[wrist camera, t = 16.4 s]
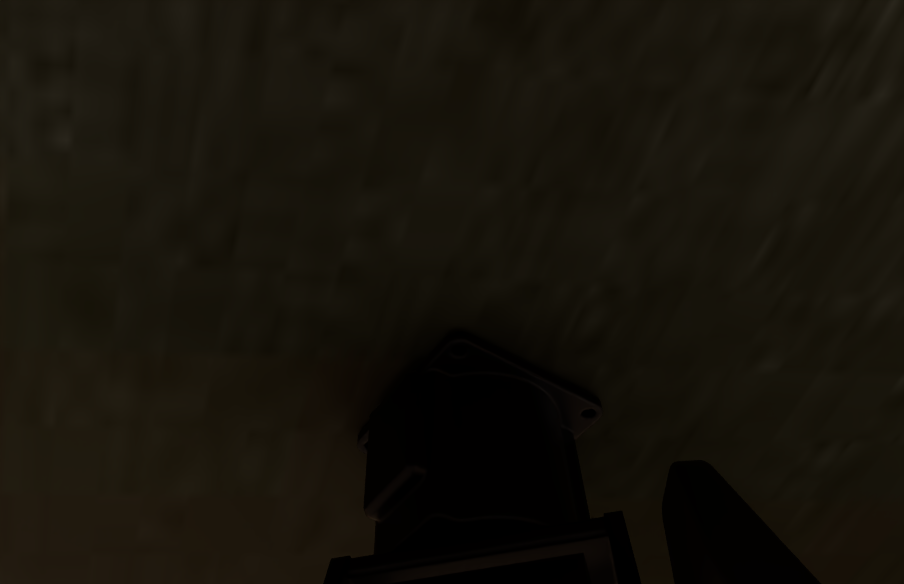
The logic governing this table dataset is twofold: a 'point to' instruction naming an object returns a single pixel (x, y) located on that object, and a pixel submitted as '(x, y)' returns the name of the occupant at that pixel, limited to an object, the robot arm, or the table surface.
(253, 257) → the table surface
